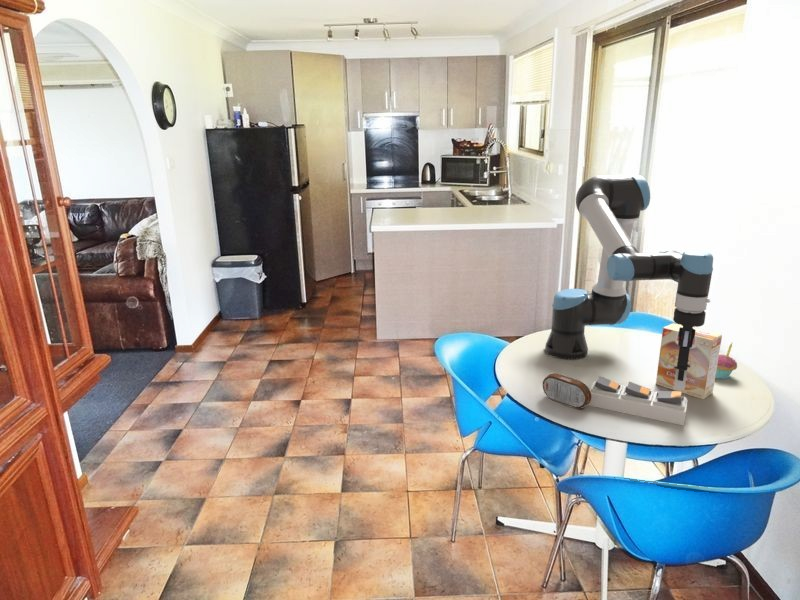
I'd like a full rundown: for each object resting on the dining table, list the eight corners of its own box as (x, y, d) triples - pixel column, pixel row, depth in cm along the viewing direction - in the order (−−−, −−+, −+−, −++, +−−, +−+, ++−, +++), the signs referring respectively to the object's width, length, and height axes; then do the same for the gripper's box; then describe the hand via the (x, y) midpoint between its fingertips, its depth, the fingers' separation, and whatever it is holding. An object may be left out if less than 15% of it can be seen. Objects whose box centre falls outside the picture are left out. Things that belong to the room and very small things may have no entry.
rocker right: (657, 403, 156) (657, 397, 156) (659, 396, 161) (658, 390, 160) (681, 403, 153) (680, 397, 153) (682, 396, 157) (681, 390, 157)
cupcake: (726, 370, 187) (732, 337, 184) (740, 381, 179) (746, 347, 175) (700, 370, 187) (705, 337, 184) (713, 381, 179) (719, 347, 176)
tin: (590, 409, 162) (593, 383, 160) (585, 413, 160) (587, 387, 158) (545, 394, 172) (547, 369, 170) (540, 397, 170) (541, 372, 168)
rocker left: (594, 386, 164) (596, 381, 164) (597, 380, 168) (599, 375, 168) (614, 395, 162) (616, 390, 161) (617, 388, 166) (619, 383, 165)
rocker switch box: (578, 403, 166) (579, 388, 165) (584, 391, 173) (586, 376, 172) (683, 425, 152) (686, 409, 151) (685, 411, 160) (688, 396, 159)
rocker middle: (625, 392, 160) (626, 387, 160) (627, 386, 164) (629, 381, 164) (646, 400, 158) (648, 395, 157) (648, 394, 162) (650, 388, 161)
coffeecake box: (654, 384, 178) (662, 327, 172) (665, 378, 182) (672, 322, 177) (703, 400, 167) (713, 339, 161) (713, 393, 171) (722, 334, 166)
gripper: (705, 317, 141) (692, 401, 148) (706, 304, 152) (695, 383, 159) (672, 313, 145) (662, 395, 151) (676, 301, 156) (666, 378, 162)
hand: (679, 389), depth 155 cm, fingers closed
